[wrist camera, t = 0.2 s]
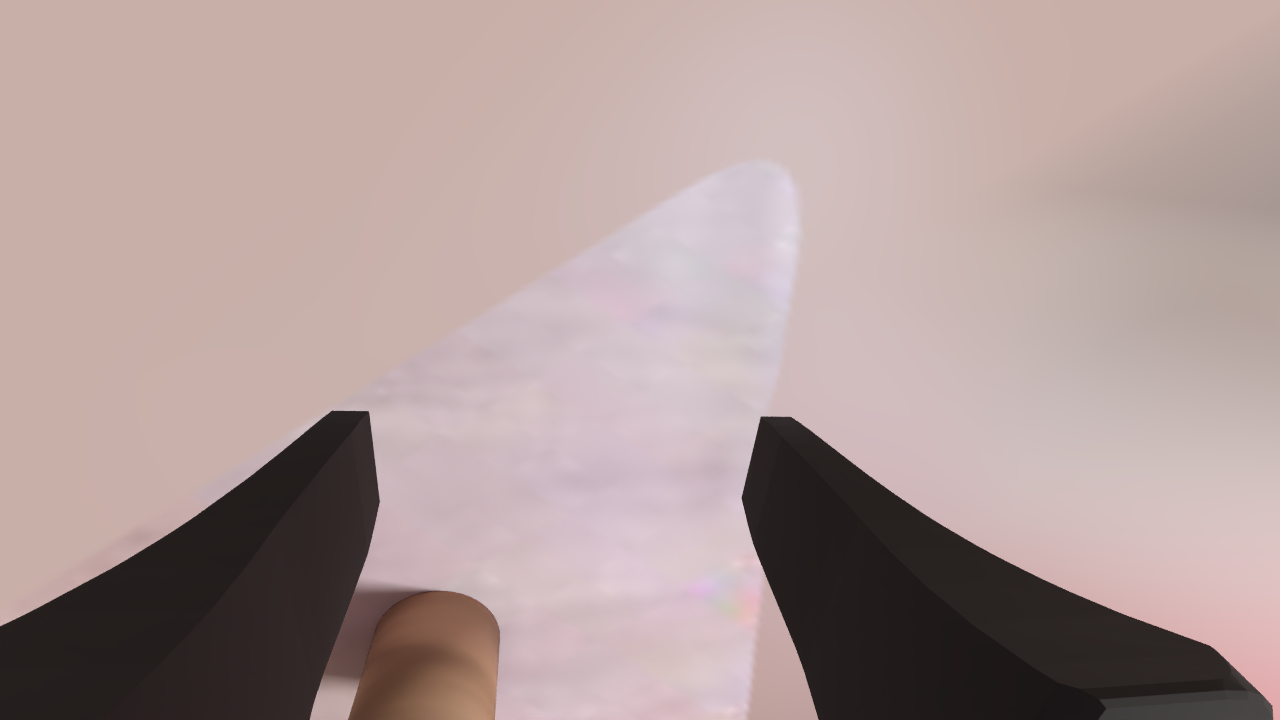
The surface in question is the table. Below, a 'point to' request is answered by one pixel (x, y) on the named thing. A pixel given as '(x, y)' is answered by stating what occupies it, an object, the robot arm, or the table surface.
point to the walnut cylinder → (431, 661)
